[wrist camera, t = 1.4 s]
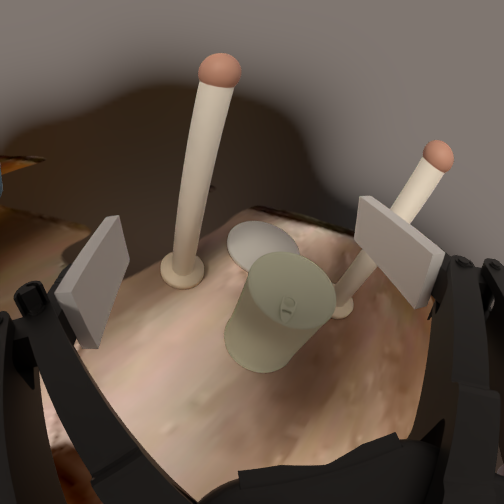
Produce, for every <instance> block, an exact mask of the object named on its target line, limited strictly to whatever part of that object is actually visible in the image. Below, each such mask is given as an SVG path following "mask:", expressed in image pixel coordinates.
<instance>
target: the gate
mask: <svg viewBox="0 0 504 504" xmlns="http://www.w3.org/2000/svg"><path fill="white" fill-rule="evenodd" d="M198 75H199V79H200V83H199V87H198V91H197V96H196V101H195V105H194V110H193V115H192V121H191V126H190V131H189V137H188V143H187V148H186V154H185V160H184V167H183V173H182V180H181V187H180V195H179V202H178V210H177V219H176V227H175V236H174V246H173V252H171V253H169V254H168V255H166V256H165V257H164V258H163V260H162V262H161V276H162V278H163V280H164V281H165V282H166V283H167V284H168V285H169V286H171V287H173V288H176V289H181V290H186V289H191V288H193V287H195V286H197V285H198V284H199V283H200V282H201V280H202V278H203V274H204V265H203V262H202V261H201V259H200V258H199V257H198V256H196V252H197V246H198V241H199V236H200V230H201V225H202V220H203V215H204V211H205V206H206V201H207V196H208V192H209V187H210V182H211V178H212V173H213V169H214V165H215V160H216V156H217V152H218V147H219V143H220V139H221V135H222V131H223V127H224V123H225V119H226V115H227V112H228V108H229V104H230V100H231V97H232V93H233V89H234V86H235V85H236V84H237V83H238V82H239V80H240V77H241V67H240V64H239V63H238V61H237V60H236V59H235V58H234V57H233V56H231V55H228V54H225V53H217V54H213V55H210V56H208V57H207V58H206V59H205V60H204V61H203V62H202V63H201V65H200V67H199V72H198ZM453 162H454V156H453V152H452V150H451V148H450V147H449V146H448V145H447V144H446V143H445V142H443V141H440V140H433V141H431V142H429V143H428V144H427V145H426V146H425V148H424V150H423V157H422V159H421V160H420V162H419V163H418V165H417V167H416V168H415V170H414V172H413V173H412V175H411V177H410V178H409V180H408V182H407V183H406V185H405V187H404V188H403V190H402V191H401V193H400V194H399V196H398V197H397V199H396V200H395V202H394V204H393V205H392V207H391V208H390V210H391V211H393V212H394V213H395V214H397V215H398V216H400V217H401V218H402V219H404V220H405V221H406V222H408V223H409V224H410V223H411V222H412V220H413V219H414V218H415V216H416V215H417V213H418V212H419V211H420V209H421V208H422V206H423V205H424V203H425V202H426V200H427V199H428V197H429V196H430V195H431V193H432V192H433V190H434V189H435V187H436V186H437V184H438V183H439V181H440V179H441V178H442V176H443V175H444V173H445V172H447V171H449V170H450V169H451V167H452V165H453ZM377 266H378V265H377V264H376V263H375V262H374V261H373V260H372V259H371V258H370V257H369V255H368V254H367V253H366V252H365V251H364V250H363V249H362V250H361V251H360V253H359V254H358V256H357V257H356V258H355V260H354V261H353V262H352V264H351V265H350V266H349V268H348V269H347V270H346V272H345V273H344V274H343V276H342V277H341V278H340V280H339V281H338V282H337V284H334V283H332V284H333V287H334V289H335V293H336V307H335V311H334V313H333V315H332V317H331V318H333V319H343V318H345V317H347V316H348V315H349V314H350V313H351V311H352V310H353V299H352V296H353V295H354V294H355V292H356V291H357V290H358V289H359V288H360V287H361V285H362V284H363V283H364V282H365V281H366V279H367V278H368V277H369V276H370V275H371V273H372V272H373V271H374V270H375V269H376V267H377Z"/></svg>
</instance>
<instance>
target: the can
mask: <svg viewBox="0 0 504 504" xmlns="http://www.w3.org/2000/svg"><path fill="white" fill-rule="evenodd" d="M335 307H336V293H335V289H334V287H333V284H332V282H331V280H330V279H329V277H328V276H327V275H326V273H325V272H324V271H323V270H322V269H321V268H320V267H319V266H318V265H316V264H315V263H314V262H312V261H311V260H309V259H307V258H305V257H303V256H300V255H298V254H294V253H290V252H271V253H268V254H265V255H263V256H261V257H260V258H258V259H257V260H256V261H255V262H254V263H253V265H252V266H251V268H250V270H249V273H248V277H247V280H246V283H245V285H244V288H243V290H242V293H241V295H240V298H239V300H238V303H237V305H236V307H235V309H234V312H233V314H232V316H231V318H230V319H229V321H228V323H227V325H226V327H225V332H224V340H225V345H226V348H227V350H228V352H229V354H230V355H231V357H232V358H233V359H234V360H235V361H236V362H237V363H238V364H239V365H241V366H242V367H244V368H246V369H248V370H250V371H254V372H258V373H269V372H274V371H277V370H279V369H281V368H282V367H284V366H285V365H286V364H287V363H288V362H289V361H290V359H291V358H292V356H293V355H294V354H295V353H296V352H297V351H298V350H299V349H300V348H301V347H302V346H303V345H304V344H305V343H306V342H307V341H308V340H309V339H310V338H311V337H312V336H313V335H314V334H315V333H316V332H317V331H318V330H319V329H320V328H321V327H322V326H323V324H325V323H326V322H327V321H328V320H329V319H330V318H331V317H332V315H333V313H334V311H335Z"/></svg>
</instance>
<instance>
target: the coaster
mask: <svg viewBox="0 0 504 504" xmlns="http://www.w3.org/2000/svg"><path fill="white" fill-rule="evenodd" d="M227 249H228V252H229V254H230V256H231V258H232V259H233V261H234V262H235V263H236V264H237V265H238V266H239V267H241V268H242V269H243V270H245V271H246V272H248V273H249V270H250V268H251V266H252V265H253V263H254V262H255V261H256V260H257V259H258V258H260V257H261V256H263V255H265V254H268V253H271V252H290V253H294V254H298V255H300V253H299V249H298V247H297V245H296V243H295V241H294V240H293V239H292V238H291V237H290V236H289V235H288V234H287V233H286V232H285V231H283V230H282V229H280V228H278V227H277V226H274V225H272V224H269V223H266V222H261V221H247V222H243V223H240V224H238V225H236V226H235V227H234V228H233V229H232V230H231V231H230V233H229V235H228V239H227Z"/></svg>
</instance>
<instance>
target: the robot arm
mask: <svg viewBox="0 0 504 504" xmlns="http://www.w3.org/2000/svg"><path fill="white" fill-rule="evenodd" d="M1 194H2V178H1V168H0V196H1ZM354 240H355V241H356V242H357V243H358V244H359V246H360V247H361V248H362V249H363V250H364V251H365V252H366V253H367V254H368V255H369V257H370V258H371V259H372V260H373V261H374V262H375V263H376V264H377V265H378V267H379V268H380V269H381V270H382V271H383V272H384V273H385V275H386V276H387V277H388V278H389V279H390V280H391V282H392V283H393V284H394V285H395V286H396V287H397V289H398V290H399V291H400V292H401V293H402V295H403V296H404V297H405V298H406V299H407V301H408V302H409V303H410V304H411V306H412V307H413V308H414V309H417V308H421V307H425V306H427V304H428V301H429V299H430V296H431V295H432V296H433V297H434V298H435V299H436V300H435V302H434V304H433V307H432V309H431V312H430V314H429V316H428V319H427V320H430V318H431V317H432V322H431V332H430V341H429V349H428V357H427V363H426V370H425V375H424V381H423V386H422V391H421V396H420V401H419V405H418V409H417V414H416V418H415V421H414V425H413V428H412V431H411V433H410V435H409V436H408V438H407V439H400V440H399V438H398V436H397V434H396V432H394V433H392V434H389V435H387V436H384V437H381V438H379V439H376V440H373V441H370V442H367V443H365V444H362V445H360V446H359V447H357V448H355V449H354V450H352V451H351V452H349V453H347V454H345V455H344V456H342V457H340V458H338V459H337V460H335V461H333V462H331V463H329V464H327V465H315V466H294V465H278V466H272V467H266V468H259V469H251V470H243V471H238V475H239V478H238V479H235V480H232V481H229V482H227V483H225V484H223V485H221V486H219V487H217V488H215V489H214V490H212V491H211V492H209V493H208V494H207V495H205V496H204V497H203V498H202V499H201V500H200V501H199V502H197V501H196V500H195V499H193V498H192V497H191V496H190V495H189V494H188V493H187V492H186V491H185V490H184V489H182V488H181V487H180V486H179V485H178V484H177V483H176V482H175V481H174V480H173V479H172V478H171V477H170V476H169V475H168V474H167V473H166V472H165V471H164V470H163V469H162V468H161V467H160V466H159V465H158V464H157V462H156V461H155V460H154V459H153V458H152V457H151V456H150V455H149V453H148V452H147V451H146V450H145V449H144V448H143V447H142V445H141V444H140V443H139V442H138V441H137V439H136V438H135V437H134V436H133V434H132V433H131V432H130V431H129V429H128V428H127V427H126V425H125V424H124V423H123V422H122V420H121V419H120V418H119V416H118V415H117V413H116V412H115V411H114V409H113V408H112V406H111V405H110V404H109V402H108V401H107V399H106V398H105V396H104V395H103V393H102V392H101V390H100V389H99V387H98V386H97V384H96V383H95V381H94V379H93V378H92V376H91V375H90V373H89V371H88V370H87V368H86V366H85V365H84V363H83V361H82V360H81V358H80V356H79V354H78V352H77V351H76V349H75V347H74V343H75V341H76V338H77V340H78V342H79V344H80V345H81V347H82V349H98V348H99V345H100V342H101V338H102V335H103V332H104V329H105V326H106V323H107V320H108V317H109V314H110V311H111V309H112V306H113V303H114V300H115V297H116V295H117V292H118V289H119V287H120V284H121V281H122V279H123V276H124V274H125V271H126V269H127V266H128V264H129V261H130V259H129V255H128V251H127V247H126V243H125V239H124V235H123V231H122V226H121V222H120V218H119V215H117V216H110V217H106V218H105V219H104V221H103V222H102V223H101V225H100V226H99V227H98V229H97V230H96V231H95V233H94V234H93V235H92V237H91V238H90V239H89V241H88V243H87V244H86V245H85V247H84V248H83V249H82V251H81V252H80V254H79V255H78V257H77V258H76V260H75V261H74V263H73V264H69V265H68V266H67V267H66V268H64V269H63V270H62V272H61V273H60V275H59V276H58V278H57V279H56V281H55V282H54V284H53V285H52V287H51V289H50V290H49V292H48V293H46V291H45V289H44V287H43V284H42V283H41V282H40V281H31V282H28V283H26V284H24V285H23V286H21V287H20V288H19V289H18V290H17V291H16V293H15V294H14V301H15V303H16V305H17V307H18V309H19V310H20V312H21V314H22V316H23V317H22V318H18V319H15V320H12V319H11V317H10V315H9V314H8V313H7V312H6V311H1V312H0V504H67V503H66V500H65V497H64V494H63V492H62V488H61V485H60V482H59V479H58V476H57V472H56V469H55V465H54V461H53V457H52V453H51V449H50V444H49V440H48V435H47V429H46V424H45V418H44V412H43V405H42V397H41V388H40V377H39V371H40V374H41V376H42V379H43V382H44V384H45V387H46V389H47V391H48V394H49V396H50V399H51V401H52V403H53V405H54V408H55V410H56V412H57V414H58V416H59V418H60V420H61V422H62V424H63V426H64V428H65V430H66V432H67V434H68V436H69V438H70V440H71V442H72V443H73V445H74V447H75V449H76V450H77V452H78V454H79V456H80V457H81V459H82V461H83V462H84V464H85V465H86V467H87V469H88V470H89V472H90V474H91V476H92V480H91V481H90V482H91V485H92V487H93V489H94V491H95V492H96V494H97V496H98V497H99V498H100V500H101V501H102V502H103V504H504V465H503V466H501V467H500V468H499V469H498V472H497V473H495V467H496V460H497V453H498V443H499V448H500V452H501V457H502V460H503V463H504V266H503V265H502V264H501V263H500V262H499V261H497V260H495V259H489V258H487V259H485V260H484V263H483V266H482V268H478V267H475V266H474V264H473V263H472V262H471V261H470V260H468V259H466V258H465V257H462V256H457V255H455V256H452V257H451V256H449V255H448V254H447V253H446V252H445V251H443V250H442V249H441V248H440V247H439V246H437V245H436V244H435V243H434V242H433V241H431V240H430V239H429V238H428V237H426V236H425V235H423V234H422V233H420V232H419V231H418V230H417V229H415V228H414V227H413V226H411V225H410V224H409V223H408V222H406V221H405V220H404V219H402V218H401V217H400V216H398V215H397V214H395V213H394V212H393V211H391V210H390V209H388V208H387V207H386V206H384V205H383V204H382V203H380V202H378V201H377V200H376V199H374V198H373V197H372V196H360V197H359V205H358V213H357V221H356V228H355V235H354ZM493 300H495V302H494V306H493V308H492V309H491V307H490V306H491V303H492V301H493Z"/></svg>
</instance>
